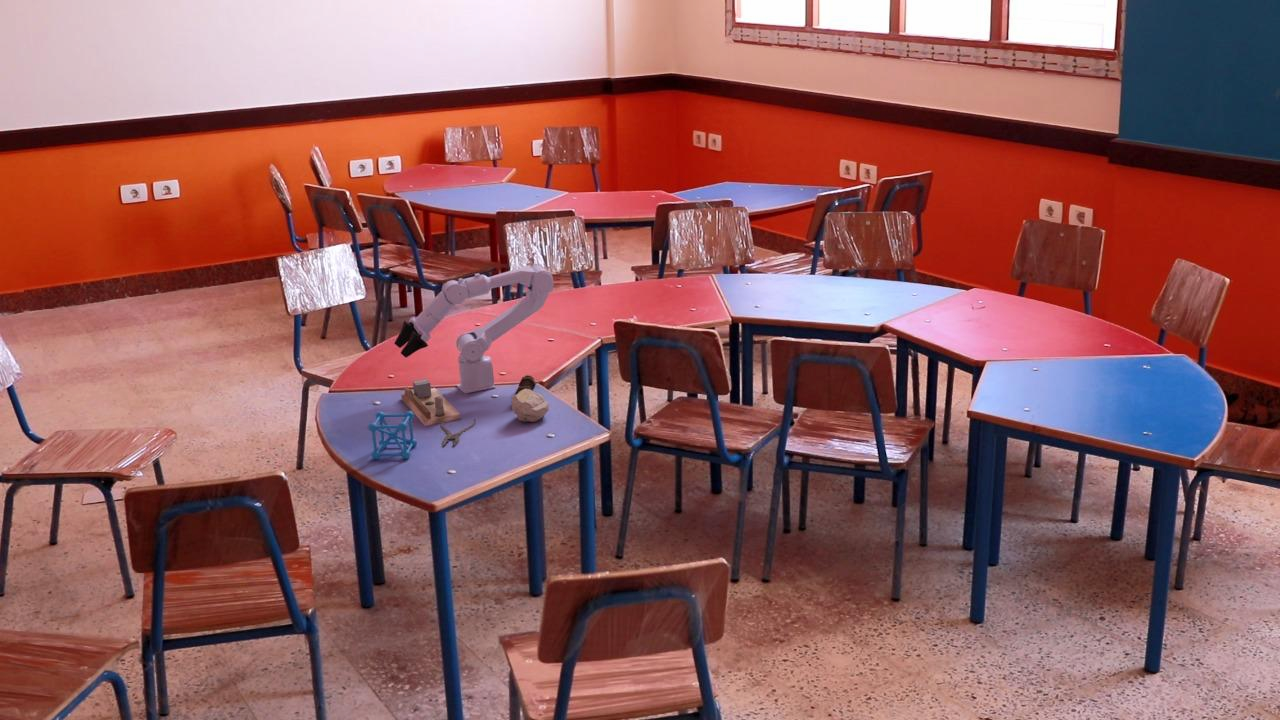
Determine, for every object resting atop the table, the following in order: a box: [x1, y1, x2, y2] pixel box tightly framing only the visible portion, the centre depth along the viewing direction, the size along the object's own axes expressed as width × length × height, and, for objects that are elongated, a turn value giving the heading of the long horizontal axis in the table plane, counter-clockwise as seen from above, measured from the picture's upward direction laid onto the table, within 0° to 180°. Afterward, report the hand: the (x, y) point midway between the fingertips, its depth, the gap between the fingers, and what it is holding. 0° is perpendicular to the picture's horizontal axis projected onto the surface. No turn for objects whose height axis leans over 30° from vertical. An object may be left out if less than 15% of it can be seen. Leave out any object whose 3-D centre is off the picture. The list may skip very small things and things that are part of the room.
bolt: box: [513, 375, 537, 396], centre depth 352 cm, size 6×5×15 cm
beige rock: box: [511, 389, 550, 423], centre depth 334 cm, size 12×8×10 cm
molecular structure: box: [367, 410, 418, 461], centre depth 315 cm, size 10×10×10 cm
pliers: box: [440, 417, 477, 448], centre depth 328 cm, size 10×1×20 cm
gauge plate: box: [400, 386, 461, 427], centre depth 344 cm, size 10×24×6 cm, turn 25°
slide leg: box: [412, 378, 432, 398], centre depth 350 cm, size 4×4×4 cm
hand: (400, 350), depth 350 cm, fingers open, 7 cm apart
